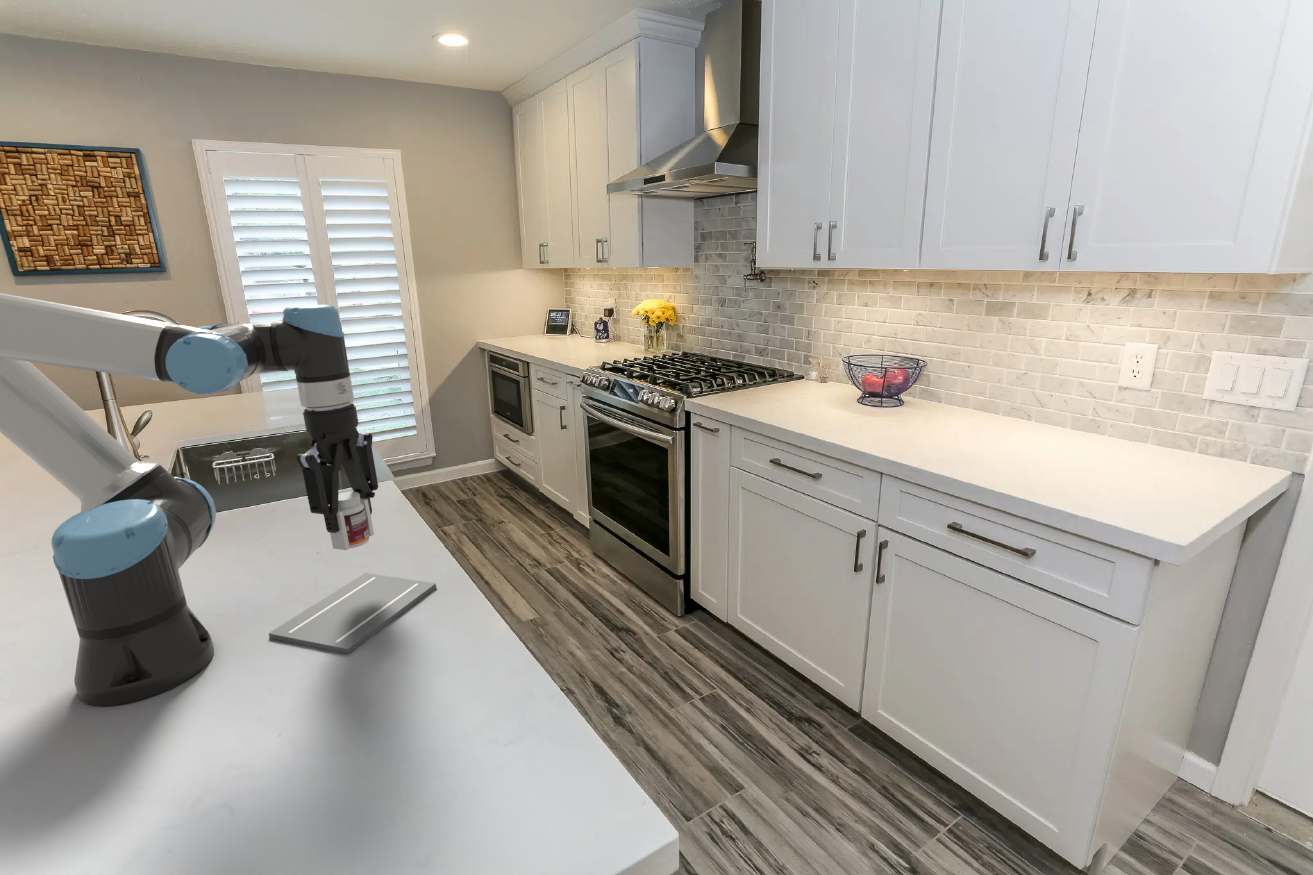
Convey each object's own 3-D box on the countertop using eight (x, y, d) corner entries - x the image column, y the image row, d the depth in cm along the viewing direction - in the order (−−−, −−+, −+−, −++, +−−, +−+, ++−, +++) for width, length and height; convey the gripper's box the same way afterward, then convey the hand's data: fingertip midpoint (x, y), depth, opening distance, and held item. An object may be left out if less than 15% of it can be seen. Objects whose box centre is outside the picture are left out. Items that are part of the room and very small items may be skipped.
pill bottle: (332, 546, 106) (323, 498, 103) (357, 535, 110) (348, 489, 107) (351, 551, 103) (342, 502, 101) (376, 539, 107) (368, 492, 105)
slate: (348, 653, 92) (347, 648, 91) (269, 637, 96) (268, 633, 96) (436, 587, 110) (435, 583, 110) (366, 576, 115) (365, 572, 114)
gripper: (300, 420, 91) (330, 568, 97) (388, 394, 107) (408, 522, 113) (261, 418, 93) (292, 562, 100) (352, 393, 109) (374, 518, 116)
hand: (354, 541), depth 106 cm, fingers closed on pill bottle, 5 cm apart
